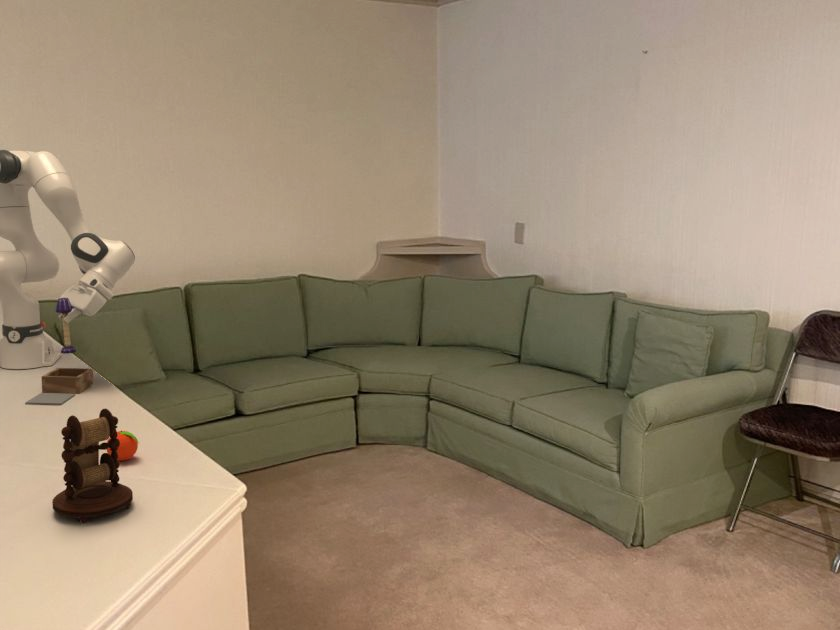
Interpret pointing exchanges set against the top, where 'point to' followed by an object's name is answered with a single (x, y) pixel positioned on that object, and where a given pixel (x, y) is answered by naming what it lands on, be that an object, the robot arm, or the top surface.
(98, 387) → the top surface
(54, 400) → the slate mat
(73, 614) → the top surface
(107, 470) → the brown wooden spool rack
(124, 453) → the clementine
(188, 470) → the top surface
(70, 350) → the toy lamp
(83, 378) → the walnut crate
